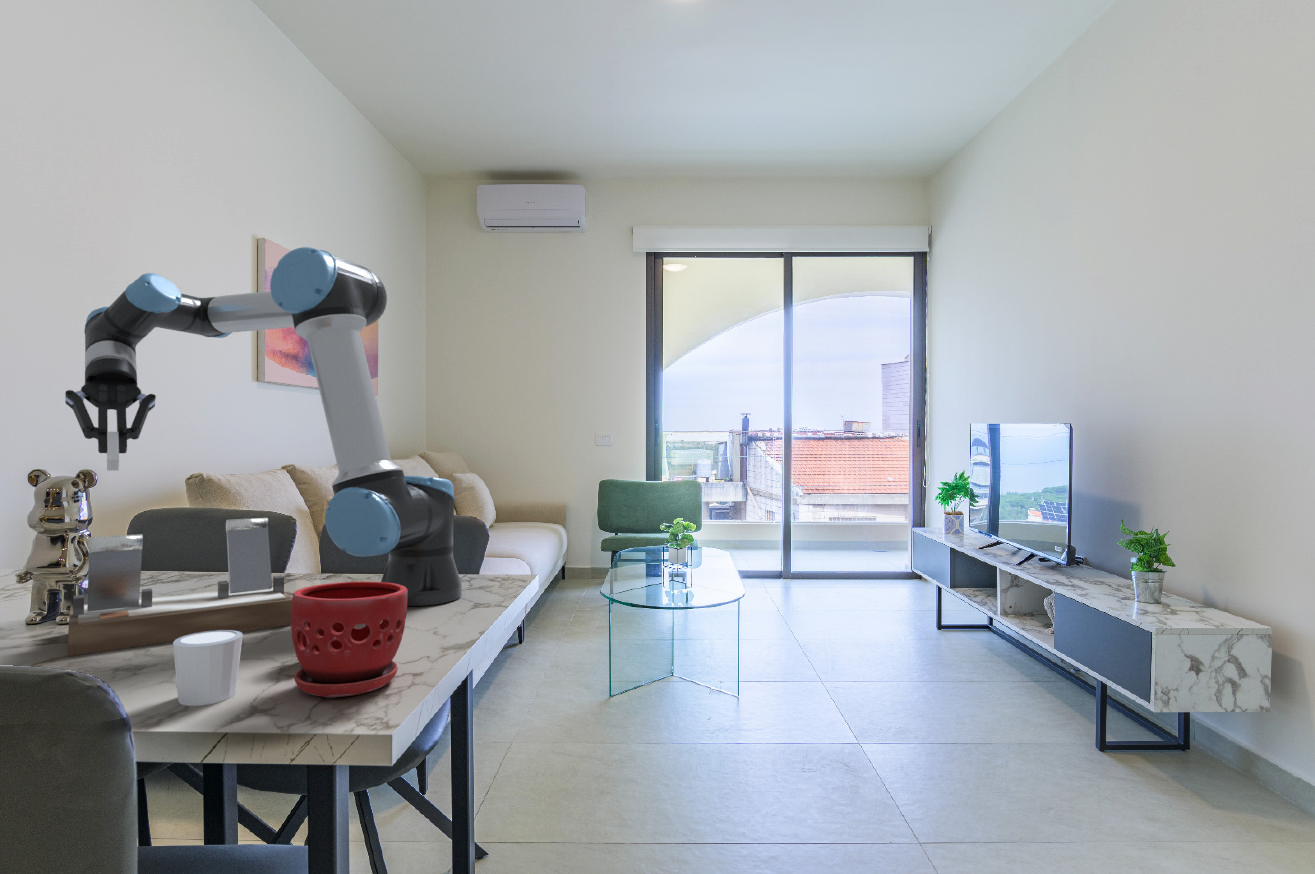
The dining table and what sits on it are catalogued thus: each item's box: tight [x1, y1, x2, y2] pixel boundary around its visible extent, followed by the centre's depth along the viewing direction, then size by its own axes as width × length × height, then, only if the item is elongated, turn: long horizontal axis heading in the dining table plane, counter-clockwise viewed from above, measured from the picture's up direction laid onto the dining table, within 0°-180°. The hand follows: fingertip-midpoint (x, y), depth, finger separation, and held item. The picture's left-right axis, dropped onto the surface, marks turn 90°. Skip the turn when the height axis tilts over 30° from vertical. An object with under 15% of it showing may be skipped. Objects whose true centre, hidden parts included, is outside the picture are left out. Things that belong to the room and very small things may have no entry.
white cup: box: [172, 630, 244, 707], centre depth 81 cm, size 7×7×7 cm
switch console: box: [67, 575, 293, 657], centre depth 109 cm, size 14×28×7 cm, turn 130°
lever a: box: [225, 517, 273, 594], centre depth 117 cm, size 2×6×12 cm, turn 130°
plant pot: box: [290, 581, 408, 699], centre depth 86 cm, size 13×13×12 cm
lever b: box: [86, 533, 144, 612], centre depth 101 cm, size 2×6×12 cm, turn 129°
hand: (113, 464), depth 115 cm, fingers closed
